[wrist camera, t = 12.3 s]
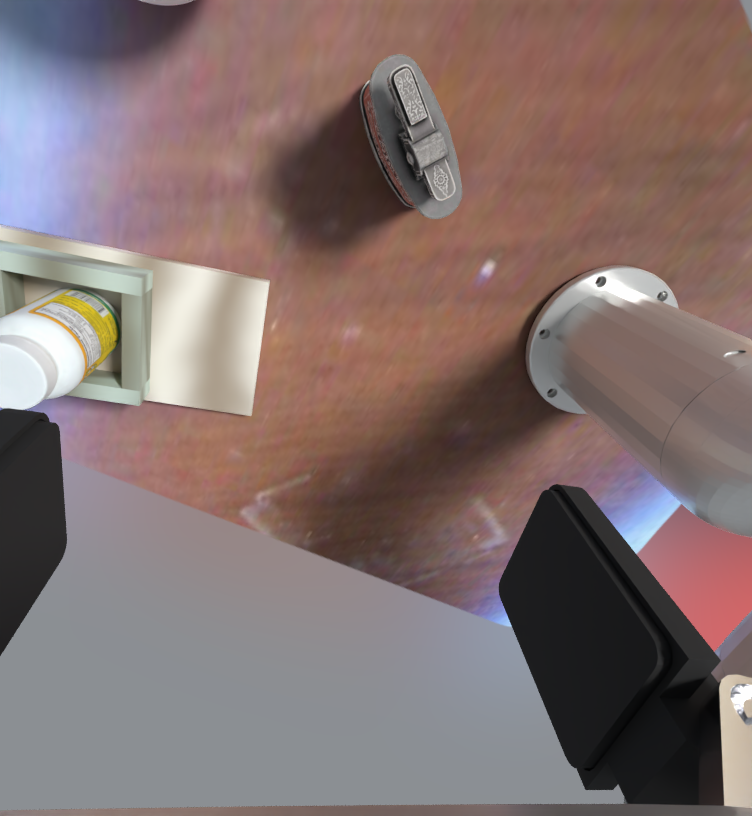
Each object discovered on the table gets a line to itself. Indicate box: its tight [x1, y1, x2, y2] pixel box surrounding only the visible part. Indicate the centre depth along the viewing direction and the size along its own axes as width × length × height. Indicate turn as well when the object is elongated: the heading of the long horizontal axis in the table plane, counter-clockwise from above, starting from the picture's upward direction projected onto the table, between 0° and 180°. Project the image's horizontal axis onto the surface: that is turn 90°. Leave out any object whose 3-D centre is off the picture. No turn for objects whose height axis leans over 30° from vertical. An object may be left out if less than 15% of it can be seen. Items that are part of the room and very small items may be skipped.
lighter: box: [359, 55, 462, 219], centre depth 27 cm, size 8×3×10 cm, turn 26°
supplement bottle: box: [0, 287, 122, 410], centre depth 30 cm, size 5×5×10 cm
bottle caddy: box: [0, 224, 270, 416], centre depth 34 cm, size 18×11×3 cm, turn 77°
